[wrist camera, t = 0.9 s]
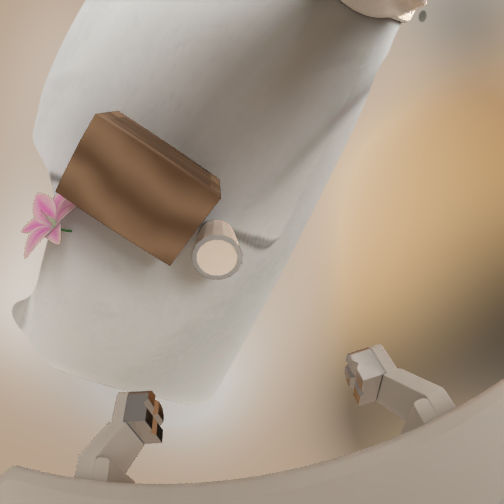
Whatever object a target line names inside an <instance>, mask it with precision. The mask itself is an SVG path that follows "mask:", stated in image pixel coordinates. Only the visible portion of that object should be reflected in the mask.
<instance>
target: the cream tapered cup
mask: <svg viewBox="0 0 504 504" xmlns="http://www.w3.org/2000/svg"><path fill="white" fill-rule="evenodd" d="M242 256H243V254H242V251H241V249H240V246H239V243H238V241H237V238H236V236H235V233H234V231H233V228H232V227H231V226H230V225H229V224H228V223H227V222H224V221H222V220H212V221H209V222H206V223H205V224H204V225H203V226H202V227H201V229H200V231H199V233H198V236H197V239H196V242H195V245H194V248H193V251H192V263H193V265H194V267H195V269H196V270H197V271H198V272H199V273H200V274H201V275H202V276H204V277H207V278H210V279H224V278H227V277H230V276H231V275H233V274H234V273H235V272H237V271H238V269H239V267H240V265H241V264H242Z"/></svg>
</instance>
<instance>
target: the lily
mask: <svg viewBox="0 0 504 504" xmlns="http://www.w3.org/2000/svg"><path fill="white" fill-rule="evenodd" d="M76 207H77V206H76V205H74V204H73V203H71V202H70V201H68V200H67V199H65V198H64V197H62V196H61V195H60V194H58V193H57V194H56V196H55V197H54V198H53V200H52V198H50V197H49V196H48V195H46V194H43V193H37V194H36V196H35V199H34V203H33V215H34V218H33V219H32V220H30V221H29V222H28V223H27V224H26V225H25V226H24V227H23V229H22V230H21V232H22V233H30V234H29V236H28V239H27V241H26V245H25V252H24V258H27V257H28V255H29V254H30V253H31V252H32V250H33V249H34V248H35V247H36V245H37V244H38V243H39V242H40V241H41V240H42V239H43V238H44V237H46V238H47V239H48V240H49V241H51V242H53V243H55V244H57V245H60V243H61V230H62V231H66V232H72V230H65V229H62V228H61V222H60V221H61V220H62V219H63V218H64V217H65V216H66V215H67V214H68V213H70V212H71V211H72V210H73V209H74V208H76Z"/></svg>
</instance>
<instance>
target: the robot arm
mask: <svg viewBox="0 0 504 504" xmlns="http://www.w3.org/2000/svg"><path fill="white" fill-rule="evenodd" d="M341 1H342V2H343V3H344V4H345V5H347V6H348V7H350V8H351V9H353V10H355V11H357V12H359V13H361V14H363V15H366V16H370V17H375V18H393V19H395V20H397V21H400V22H404V23H405V22H408V21H410V20H411V18H412V16H413V14H414V12H415V10H416V9H418V8H420V7H423V6H425V5H426V4H427V0H341ZM346 361H347V363H348V364H347V366H346V367H345V375H346V380H347V383H348V385H349V387H350V388H352V389H354V391H353V396H354V398H355V400H356V402H357V405H358V406H361V405H364V404H367V403H371V402H374V401H377V402H378V403H380V404H381V405H382V406H384V407H386V408H387V409H388V410H390V411H392V412H393V413H395V414H396V415H398V416H399V417H401V418H402V419H404V420H405V421H406V423H405V425H404V427H403V429H402V431H401V435H399V436H397V437H394V438H392V439H389V440H387V441H384V442H382V443H379V444H377V445H374V446H371V447H368V448H365V449H363V450H360V451H357V452H354V453H351V454H348V455H344V456H341V457H338V458H334V459H331V460H328V461H324V462H320V463H317V464H313V465H309V466H305V467H300V468H296V469H292V470H287V471H283V472H277V473H272V474H266V475H261V476H255V477H248V478H241V479H234V480H225V481H215V482H202V483H185V484H135V482H134V480H132V479H131V478H130V477H129V476H128V475H126V474H125V473H126V472H127V470H128V469H129V467H130V466H131V464H132V463H133V461H134V460H135V458H136V457H137V455H138V454H139V452H140V451H141V449H142V447H143V446H144V444H149V443H162V436H163V430H162V428H161V427H160V425H161V424H162V423H163V418H164V415H163V409H162V407H161V404H160V403H159V402H158V401H156V400H155V395H154V393H153V392H152V391H140V392H120V393H118V395H117V398H116V403H115V407H114V412H113V417H112V422H109V423H108V424H107V425H106V426H105V427H104V428H103V429H102V430H101V431H100V432H99V433H98V435H97V436H96V437H95V438H94V439H93V440H92V441H91V442H90V443H89V444H88V445H87V446H86V447H85V449H84V450H83V451H82V452H81V453H80V454H79V456H78V460H77V465H76V471H75V476H74V478H73V477H66V476H61V475H55V474H50V473H45V472H41V471H37V470H32V469H28V468H24V467H21V466H12V467H10V468H9V469H8V470H6V471H5V472H4V473H3V474H2V475H1V476H0V504H504V379H502V380H501V381H499V382H498V383H496V384H495V385H493V386H492V387H490V388H489V389H487V390H486V391H484V392H482V393H481V394H479V395H478V396H476V397H474V398H473V399H471V400H469V401H467V402H466V403H464V404H462V405H460V406H459V407H457V408H456V406H455V405H454V403H453V402H452V400H451V399H450V397H449V396H448V394H447V393H446V392H445V390H444V388H442V387H440V386H438V385H436V384H433V383H431V382H429V381H427V380H425V379H422V378H420V377H418V376H416V375H414V374H412V373H410V372H407V371H405V370H403V369H397V368H396V366H395V364H394V363H393V361H392V360H391V358H390V357H389V356H388V354H387V352H386V351H385V349H384V348H383V346H382V345H381V344H378V345H375V346H372V347H369V348H365V349H362V350H358V351H355V352H352V353H349V354H347V356H346Z"/></svg>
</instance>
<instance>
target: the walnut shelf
mask: <svg viewBox="0 0 504 504" xmlns="http://www.w3.org/2000/svg"><path fill="white" fill-rule="evenodd" d="M56 192H57V193H58V194H60V195H61V196H62V197H64V198H65V199H67V200H68V201H70V202H71V203H73V204H74V205H76V206H77V207H79V208H80V209H81V210H83V211H84V212H86V213H87V214H89V215H90V216H92V217H93V218H95V219H97V220H98V221H100V222H101V223H103V224H104V225H106V226H107V227H109V228H110V229H112V230H113V231H115V232H116V233H118V234H120V235H121V236H123V237H124V238H126V239H127V240H129V241H131V242H132V243H134V244H135V245H137V246H139V247H140V248H142V249H143V250H145V251H147V252H148V253H150V254H151V255H153V256H155V257H156V258H158V259H160V260H161V261H163V262H164V263H166V264H168V265H169V266H170V265H171V264H172V263H173V261H174V260H175V258H176V257H177V256H178V254H179V253H180V252H181V250H182V249H183V247H184V246H185V245H186V243H187V242H188V241H189V239H190V238H191V237H192V235H193V234H194V233H195V231H196V230H197V229H198V227H199V226H200V225H201V223H202V222H203V221H204V219H205V218H206V217H207V215H208V214H209V213H210V212H211V210H212V209H213V208H214V206H215V205H216V204H217V202H218V201H219V200H220V199H221V194H220V180H219V179H218V178H217V177H215V176H214V175H212V174H211V173H209V172H208V171H207V170H205V169H204V168H202V167H201V166H199V165H198V164H197V163H195V162H194V161H192V160H191V159H189V158H188V157H186V156H185V155H184V154H182V153H181V152H179V151H178V150H176V149H175V148H173V147H172V146H170V145H169V144H167V143H166V142H164V141H163V140H161V139H160V138H159V137H157V136H156V135H154V134H153V133H151V132H150V131H148V130H147V129H145V128H143V127H142V126H140V125H139V124H137V123H136V122H134V121H133V120H131V119H130V118H128V117H127V116H125V115H124V114H122V113H121V112H119V111H115V112H107V113H99V114H95V116H94V117H93V119H92V121H91V123H90V124H89V126H88V128H87V130H86V131H85V133H84V135H83V137H82V139H81V140H80V142H79V144H78V146H77V148H76V150H75V152H74V154H73V156H72V158H71V160H70V162H69V164H68V166H67V168H66V170H65V172H64V174H63V176H62V178H61V180H60V183H59V185H58V187H57V189H56Z"/></svg>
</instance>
